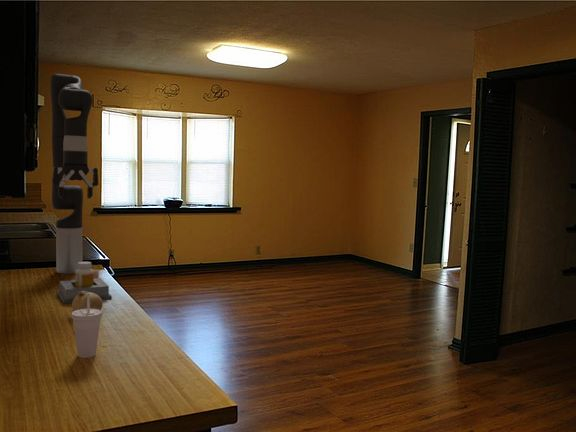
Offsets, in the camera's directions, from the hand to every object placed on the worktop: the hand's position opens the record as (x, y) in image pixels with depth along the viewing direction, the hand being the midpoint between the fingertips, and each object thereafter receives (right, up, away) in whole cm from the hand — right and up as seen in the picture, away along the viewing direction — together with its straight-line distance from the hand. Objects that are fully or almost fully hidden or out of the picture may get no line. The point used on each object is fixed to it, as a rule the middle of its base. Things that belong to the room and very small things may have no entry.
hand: (75, 198), depth 177 cm
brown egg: (+2, -30, +5) cm, 30 cm away
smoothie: (+27, -37, -61) cm, 76 cm away
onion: (+16, -34, -30) cm, 48 cm away
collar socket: (+7, -31, -10) cm, 34 cm away
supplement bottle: (+7, -31, -10) cm, 33 cm away
